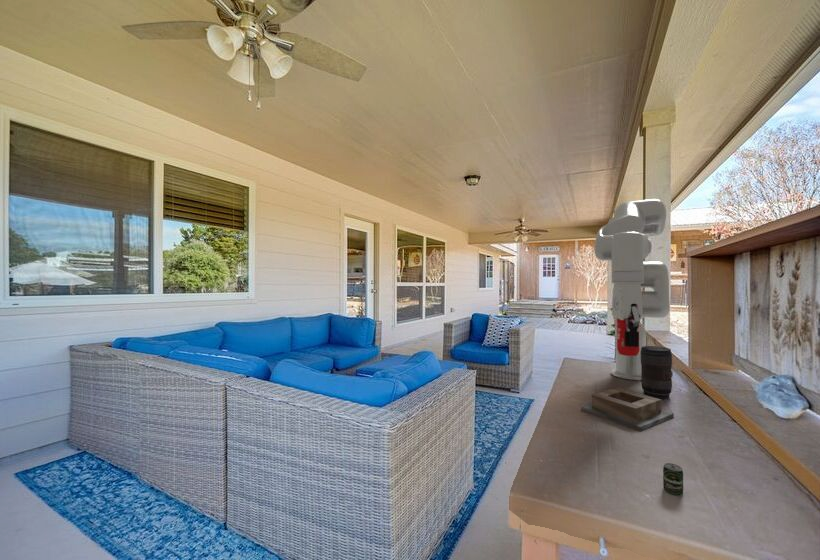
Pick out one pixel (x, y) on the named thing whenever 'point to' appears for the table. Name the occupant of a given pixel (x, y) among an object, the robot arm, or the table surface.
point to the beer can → (673, 479)
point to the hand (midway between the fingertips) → (627, 343)
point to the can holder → (627, 408)
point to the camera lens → (656, 371)
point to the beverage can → (621, 340)
